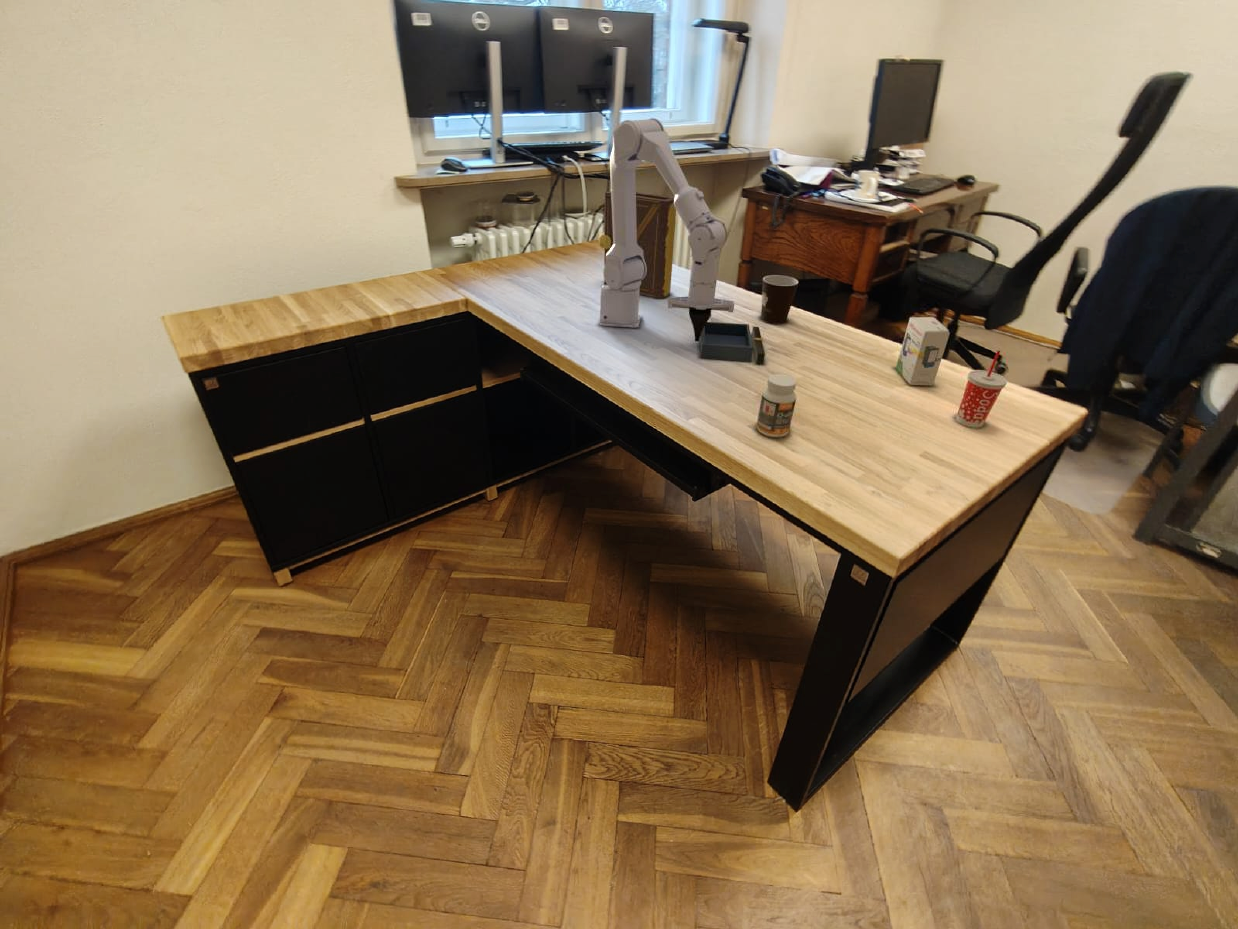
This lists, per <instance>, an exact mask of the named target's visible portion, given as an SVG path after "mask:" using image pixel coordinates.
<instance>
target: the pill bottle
mask: <svg viewBox="0 0 1238 929" xmlns="http://www.w3.org/2000/svg"><path fill="white" fill-rule="evenodd" d="M766 385H767V387H765V388H764V389H763V391H762V395H761V400H760V405H759V408H758V409H759V410H758V416H757V421H756V429H757V431H758V432H759V433H761V434H763V435H765V436H767V437H770V438H781V437H784V436H787V435H788V434H789V432H790V429H791V423H792V420H793V416H794V410H795V408H796V407H795V406H796V403H797V402H796V401H797V394H796V391H795V389H796V386H797V380H796V378H794V377H793V376H791V375H788V374H783V373H774V374H771V375H769V376H768V379H767V383H766Z"/></svg>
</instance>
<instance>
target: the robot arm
mask: <svg viewBox="0 0 1238 929" xmlns="http://www.w3.org/2000/svg"><path fill="white" fill-rule="evenodd" d="M670 144H671V143H670V135H669V134H668V132H667V131H666V130H665V127H664V125H663V123H662V122H661V121H660V120H659V119H657V118H653V117H651V118H648V119H637V120H630V119H625V120H623V121H621V122H620V123H619V125H618V126H617V127H616V128H615V129H614V130H613V131H612V150H611V153H610V157H609V173H610V175H609V176H610V192H611V200H612V225H613V246H612V247H611V249H610V250H609V252H608V253H607V254H606V264H605V267H604V266H603V270H602V271H603V280H604V279H605V281H606V283H607V284H608V285H604V284H602V286H601V289H600V306H599V307H600V311H599V315H600V316H599V317H600V320H599V322H600V323H599V325H600V326H602V327H603V326H604V327H620V328H634V329H638V328H639V326H640V322H641V319H642V315H641V314H639V311H640V295H639V289H640V285H641V280H642V279H643V278H644V277H645V275H646V272H647V266H646V263H645V260H644V256H643V250H642V249H641V248H640V247H639V246H638V244H637V229H636V192H637V190H636V188H637V186H636V185H637V184H636V182H637V181H636V170H637V168H638V167H639V166H640V164H641V163H642V162H643V161H644V162H648V163H650V164H653V165H654V166H655V168H656V169H657V171H658V172H659V174H660V176H661V177H662V178H663V180H664V182H665V183H666V184H667V186H668V188H669V189H670V191H671V192H672V194H673V195H674V197H675V199H674V207H675V208H676V213H677V214H678V216H679V217H680V219H681V221H682V222H683V224H684V226H685V228H686V230H687V231H688V233H689V234H690V235H688V236H687V241H688V242H687V243H688V245H689V248H690V249H691V266H690V275H689V276H690V278H689V287H688V296H668V297H667V298H668V299H667V309H673V308H674V309H688V316H689V319H690V321H691V324H692V328H693V334H694V342H698V343H699V342H700V340H701V333H702V330H703V328H704V326H705V325H706V323H707V322H709V320H710V318H711V316H712V311H720V312H721V311H722V312H728V313H734V311H735V310H734V309H735V301H734V300H727V299H721V298H716V289H717V282H718V274H719V273H718V271H719V264H720V257H721V247H723V246H724V245H725V243H726V242H727V238H728V229H727V227H726V224H725V222H723V220H722V219H718V218H716V217H715V214H714V213H712V212H711V210H710V208H709V206H708V205H707V203H706V201H705V199H704V197H705V195H704V193H703V191H702V190H699V189H698V188H697V187H694V186H691V185H689V182H688V180H687V178H686V176H685V174H684V172H683V169H682V168H681V166H680V164H679V162H678V159H677V158H676V155H675V153H674V151H673V148H672V147H671V145H670Z"/></svg>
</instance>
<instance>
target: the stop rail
mask: <svg viewBox="0 0 1238 929" xmlns="http://www.w3.org/2000/svg"><path fill="white" fill-rule="evenodd" d="M750 334H751V339H752V345H753V353H754V359H755V364H756V365H764V362H765V358H766V357H765V356H766V353H765V347H764V343H763V338H762V335H761V330H760V326H752V328H751V333H750Z"/></svg>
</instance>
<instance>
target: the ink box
mask: <svg viewBox="0 0 1238 929" xmlns="http://www.w3.org/2000/svg"><path fill="white" fill-rule="evenodd" d="M905 330H906V331H905V334H904V338H903V340H902V344H901V348H900V350H899V351H900V352H899V355H898V359H897V362H896V366H895V370H897V372H898V373H899V374H900V375H901V376H902V377H903V378H904V380H905V381H906V382H907V383H908V384H909V385H910V386H934V384H935V381H936V378H937V375H938V372H939V369H940V366H941V365H940V364H941V362H942V359H943V355H944V352H945V350H946V346H947V344H948V340H949V337H950V333H951V332H950V330H949V329H948V328H947V327H946V326H944V324H942V323H941V322H940V321H939V320H938V319H937V318H935V317H934V316H929V317H928V316H925V317H923V316H922V317H918V316H917V317H915V316H914V317H913V316H912V317H909V320H908V323H907V327H906V329H905Z"/></svg>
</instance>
